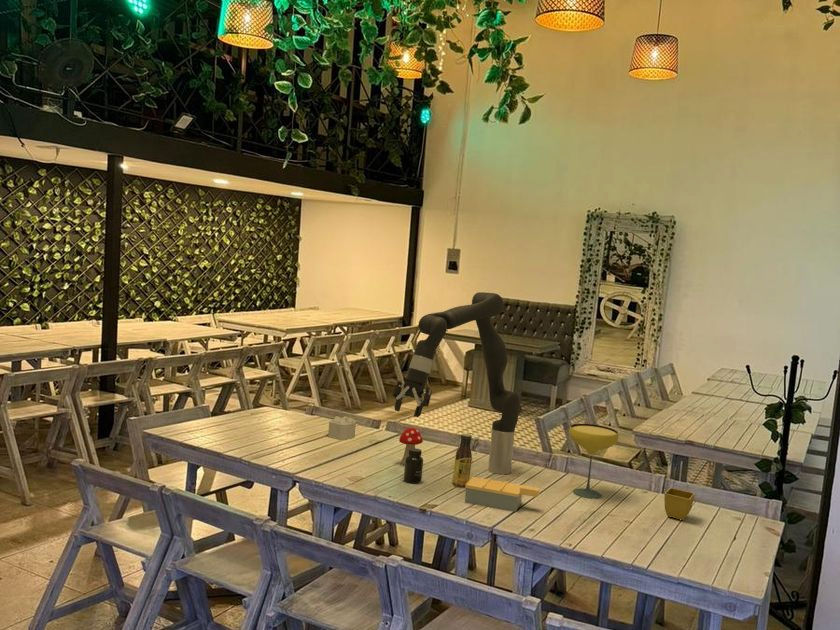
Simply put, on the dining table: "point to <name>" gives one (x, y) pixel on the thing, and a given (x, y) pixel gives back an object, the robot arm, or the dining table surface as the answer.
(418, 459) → the supplement bottle
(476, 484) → the lid
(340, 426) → the grey studded block
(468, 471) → the sauce bottle
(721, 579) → the dining table surface
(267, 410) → the dining table surface
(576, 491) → the cocktail glass
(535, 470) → the dining table surface
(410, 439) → the decorative mushroom
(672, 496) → the flower pot
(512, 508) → the tub
